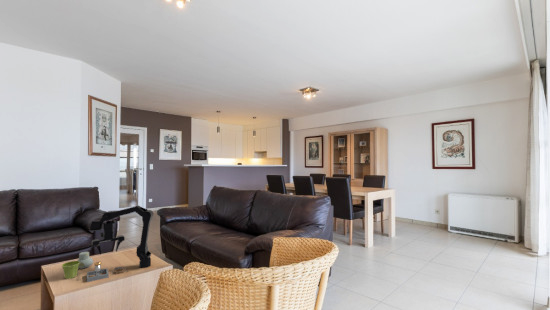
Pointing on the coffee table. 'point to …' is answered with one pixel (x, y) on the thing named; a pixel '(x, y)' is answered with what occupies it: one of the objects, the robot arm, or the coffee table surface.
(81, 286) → the coffee table surface
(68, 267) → the plant pot
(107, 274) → the tray
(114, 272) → the tensioner block
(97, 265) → the lock pin
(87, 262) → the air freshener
